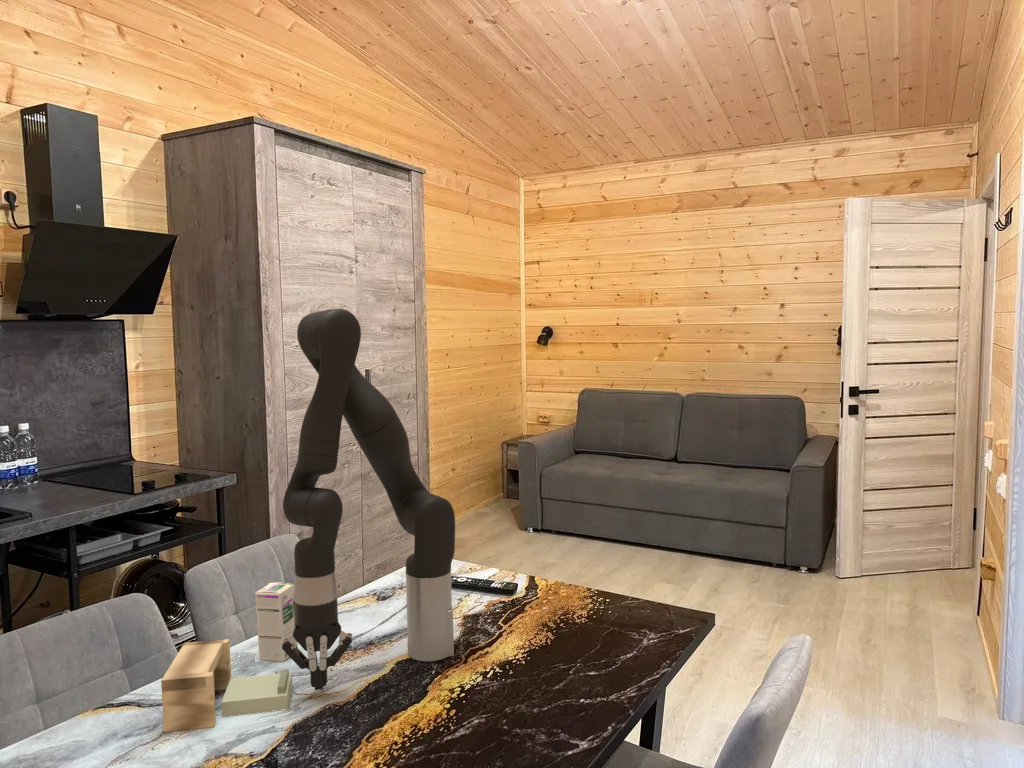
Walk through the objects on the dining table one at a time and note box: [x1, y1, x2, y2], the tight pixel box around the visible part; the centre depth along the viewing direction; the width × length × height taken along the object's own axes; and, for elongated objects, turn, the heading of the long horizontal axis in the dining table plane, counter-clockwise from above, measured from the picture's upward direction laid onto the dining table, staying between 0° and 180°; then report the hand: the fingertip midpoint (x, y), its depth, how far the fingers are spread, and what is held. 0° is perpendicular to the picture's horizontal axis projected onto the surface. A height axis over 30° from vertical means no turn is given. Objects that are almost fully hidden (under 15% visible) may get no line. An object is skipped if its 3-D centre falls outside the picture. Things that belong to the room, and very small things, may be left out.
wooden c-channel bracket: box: [160, 638, 232, 733], centre depth 133 cm, size 8×15×9 cm, turn 10°
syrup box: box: [254, 581, 299, 663], centre depth 153 cm, size 6×6×14 cm
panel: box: [221, 668, 294, 717], centre depth 135 cm, size 11×9×4 cm
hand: (319, 687), depth 136 cm, fingers closed
